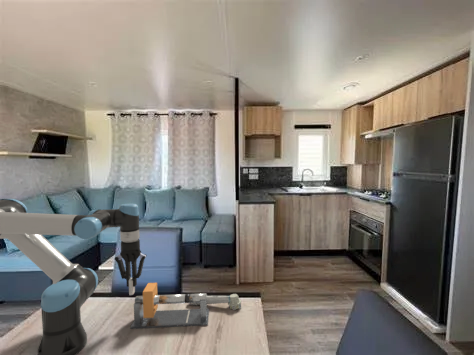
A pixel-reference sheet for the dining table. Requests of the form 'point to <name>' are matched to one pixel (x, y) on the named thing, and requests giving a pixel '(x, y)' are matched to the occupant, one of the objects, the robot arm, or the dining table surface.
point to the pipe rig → (172, 312)
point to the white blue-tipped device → (224, 301)
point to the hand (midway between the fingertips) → (132, 293)
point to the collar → (149, 300)
